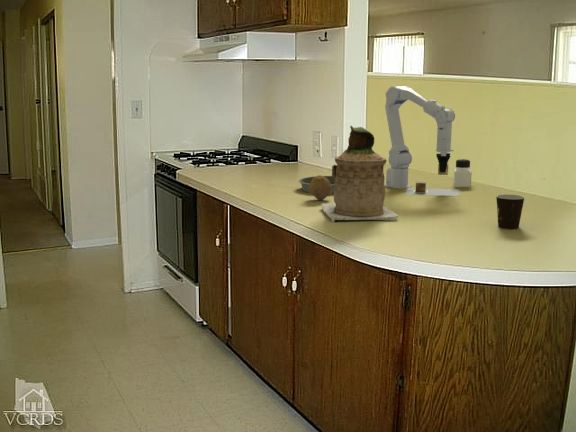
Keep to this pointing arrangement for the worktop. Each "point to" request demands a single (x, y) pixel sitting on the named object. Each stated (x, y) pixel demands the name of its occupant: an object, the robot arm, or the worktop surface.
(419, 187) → the walnut block
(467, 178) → the medicine bottle
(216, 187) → the worktop surface
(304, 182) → the cake pan
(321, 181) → the natural sponge
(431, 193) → the grey flat slab
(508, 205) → the coffee mug
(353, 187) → the cookie jar
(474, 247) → the worktop surface
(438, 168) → the maple block
